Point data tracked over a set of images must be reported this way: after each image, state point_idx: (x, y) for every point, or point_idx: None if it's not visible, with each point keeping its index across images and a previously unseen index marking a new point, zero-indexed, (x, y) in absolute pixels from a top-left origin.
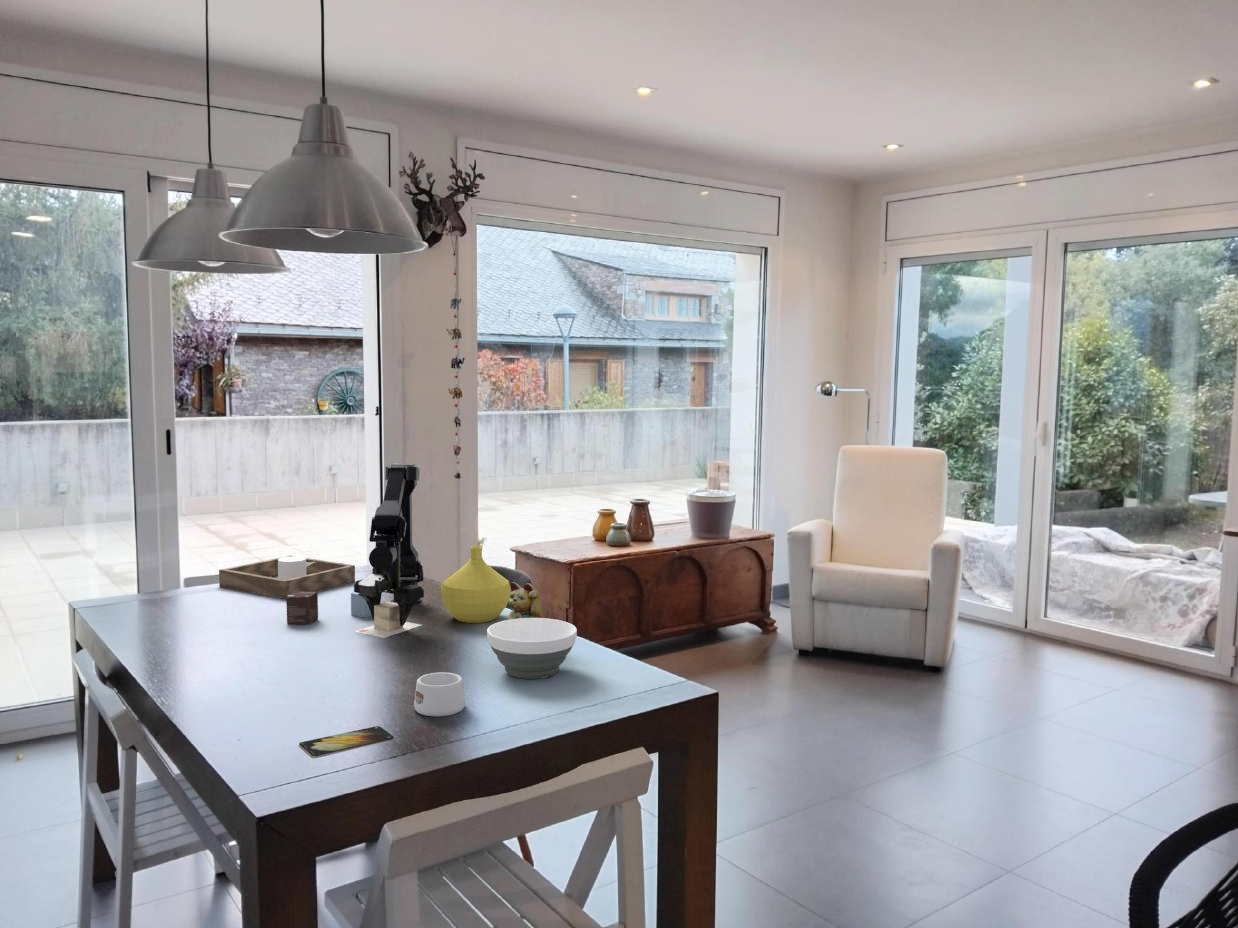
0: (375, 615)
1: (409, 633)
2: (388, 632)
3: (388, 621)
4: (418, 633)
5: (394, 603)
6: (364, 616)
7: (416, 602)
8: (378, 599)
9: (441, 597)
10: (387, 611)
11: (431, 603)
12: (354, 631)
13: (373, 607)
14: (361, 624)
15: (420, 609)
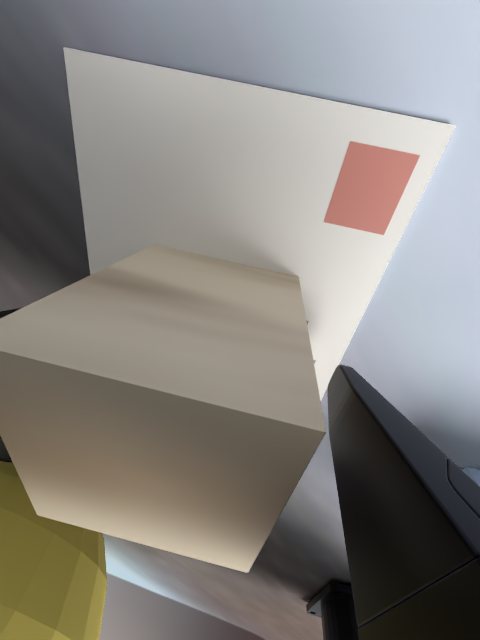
0: (288, 325)
1: (39, 268)
2: (149, 228)
3: (118, 269)
4: (3, 286)
5: (132, 529)
6: (475, 475)
7: (314, 598)
8: (377, 617)
9: (10, 608)
10: (50, 317)
11: (268, 591)
12: (449, 129)
13: (385, 466)
14: (448, 357)
15: (264, 555)
